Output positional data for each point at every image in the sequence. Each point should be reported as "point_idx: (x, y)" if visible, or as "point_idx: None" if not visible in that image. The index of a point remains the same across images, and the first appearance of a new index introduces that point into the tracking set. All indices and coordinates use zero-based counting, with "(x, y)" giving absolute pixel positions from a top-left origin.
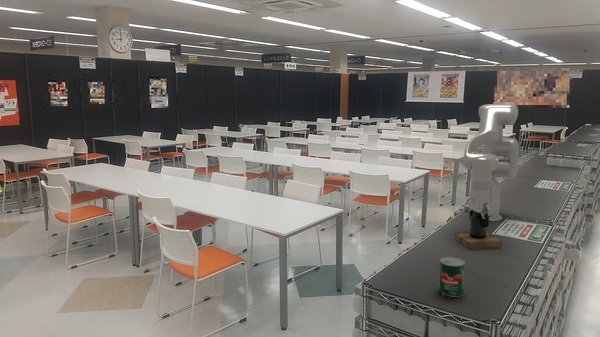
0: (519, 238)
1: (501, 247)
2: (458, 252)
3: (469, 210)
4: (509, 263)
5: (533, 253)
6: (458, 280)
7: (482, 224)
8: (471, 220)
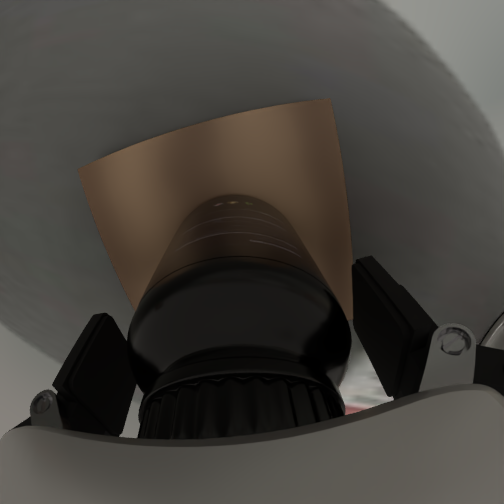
0: None
1: None
2: (63, 94)
3: (457, 328)
4: (17, 297)
5: None
6: None
7: (89, 339)
8: (190, 260)
